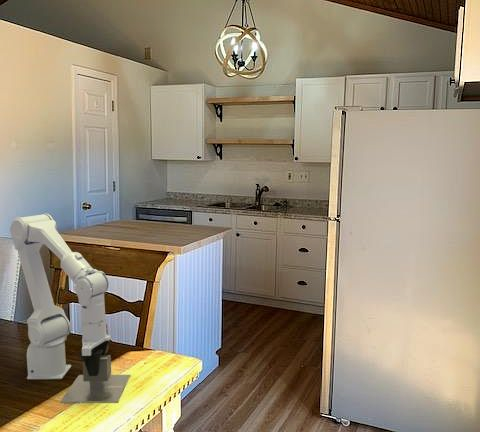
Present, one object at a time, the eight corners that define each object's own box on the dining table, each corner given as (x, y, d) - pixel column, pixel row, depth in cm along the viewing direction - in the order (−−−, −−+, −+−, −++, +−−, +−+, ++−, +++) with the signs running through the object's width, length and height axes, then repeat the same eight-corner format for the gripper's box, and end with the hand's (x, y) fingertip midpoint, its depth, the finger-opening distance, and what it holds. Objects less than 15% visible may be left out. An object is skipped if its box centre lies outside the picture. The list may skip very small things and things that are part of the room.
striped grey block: (83, 381, 124) (82, 362, 124) (88, 373, 129) (87, 354, 128) (107, 381, 125) (106, 361, 124) (111, 372, 129) (110, 354, 128)
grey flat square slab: (60, 402, 120) (59, 389, 120) (79, 376, 134) (78, 364, 134) (117, 402, 120) (116, 389, 120) (130, 376, 134) (129, 364, 134)
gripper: (101, 330, 117) (104, 384, 119) (116, 310, 132) (118, 358, 134) (71, 330, 117) (75, 384, 119) (90, 310, 132) (92, 358, 134)
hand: (96, 370), depth 126 cm, fingers closed on striped grey block, 4 cm apart
